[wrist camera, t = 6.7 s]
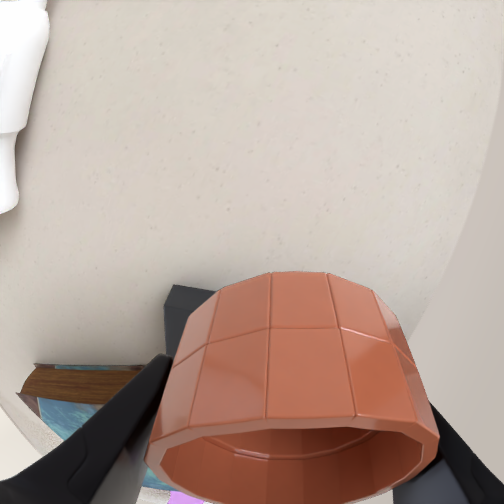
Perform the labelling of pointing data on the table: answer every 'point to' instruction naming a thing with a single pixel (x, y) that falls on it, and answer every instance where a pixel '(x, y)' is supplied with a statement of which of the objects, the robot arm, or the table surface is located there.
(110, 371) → the book
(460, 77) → the table surface
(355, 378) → the pot
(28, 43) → the binoculars
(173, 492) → the toy chair
